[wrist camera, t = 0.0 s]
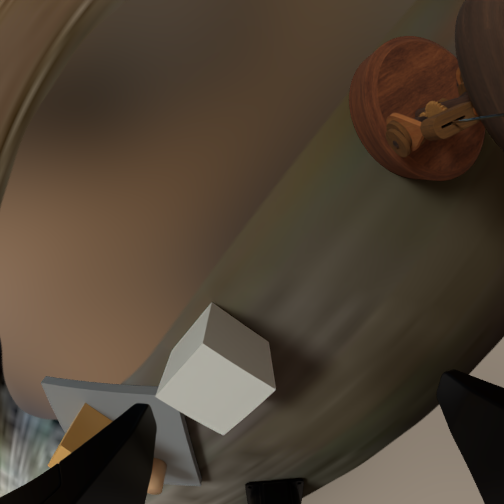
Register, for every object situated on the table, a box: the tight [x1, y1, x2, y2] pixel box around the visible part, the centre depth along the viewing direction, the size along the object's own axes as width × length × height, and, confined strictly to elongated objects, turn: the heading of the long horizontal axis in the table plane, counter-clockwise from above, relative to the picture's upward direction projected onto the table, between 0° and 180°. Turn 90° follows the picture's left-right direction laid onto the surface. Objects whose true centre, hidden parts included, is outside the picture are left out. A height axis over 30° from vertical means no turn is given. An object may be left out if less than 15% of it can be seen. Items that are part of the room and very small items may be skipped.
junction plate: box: [41, 376, 202, 495], centre depth 24 cm, size 14×14×5 cm
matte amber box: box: [48, 403, 113, 467], centre depth 22 cm, size 5×5×6 cm
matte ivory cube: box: [155, 302, 276, 435], centre depth 21 cm, size 5×5×6 cm
